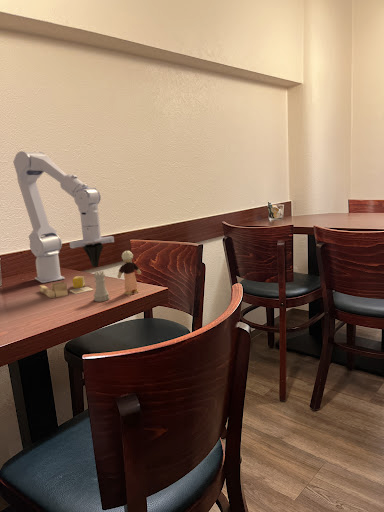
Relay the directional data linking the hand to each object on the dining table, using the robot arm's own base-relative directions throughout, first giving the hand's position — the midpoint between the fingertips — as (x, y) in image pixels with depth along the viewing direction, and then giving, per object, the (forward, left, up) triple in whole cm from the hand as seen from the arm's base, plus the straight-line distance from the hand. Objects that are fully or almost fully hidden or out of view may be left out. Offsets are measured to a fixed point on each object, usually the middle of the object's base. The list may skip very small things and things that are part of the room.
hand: (95, 266), depth 133 cm
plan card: (+6, -8, -5) cm, 11 cm away
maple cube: (+6, -14, -5) cm, 16 cm away
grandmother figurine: (+20, +2, -6) cm, 21 cm away
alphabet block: (0, -6, -6) cm, 8 cm away
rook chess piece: (+20, -7, -6) cm, 22 cm away
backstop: (+2, -17, -5) cm, 18 cm away
